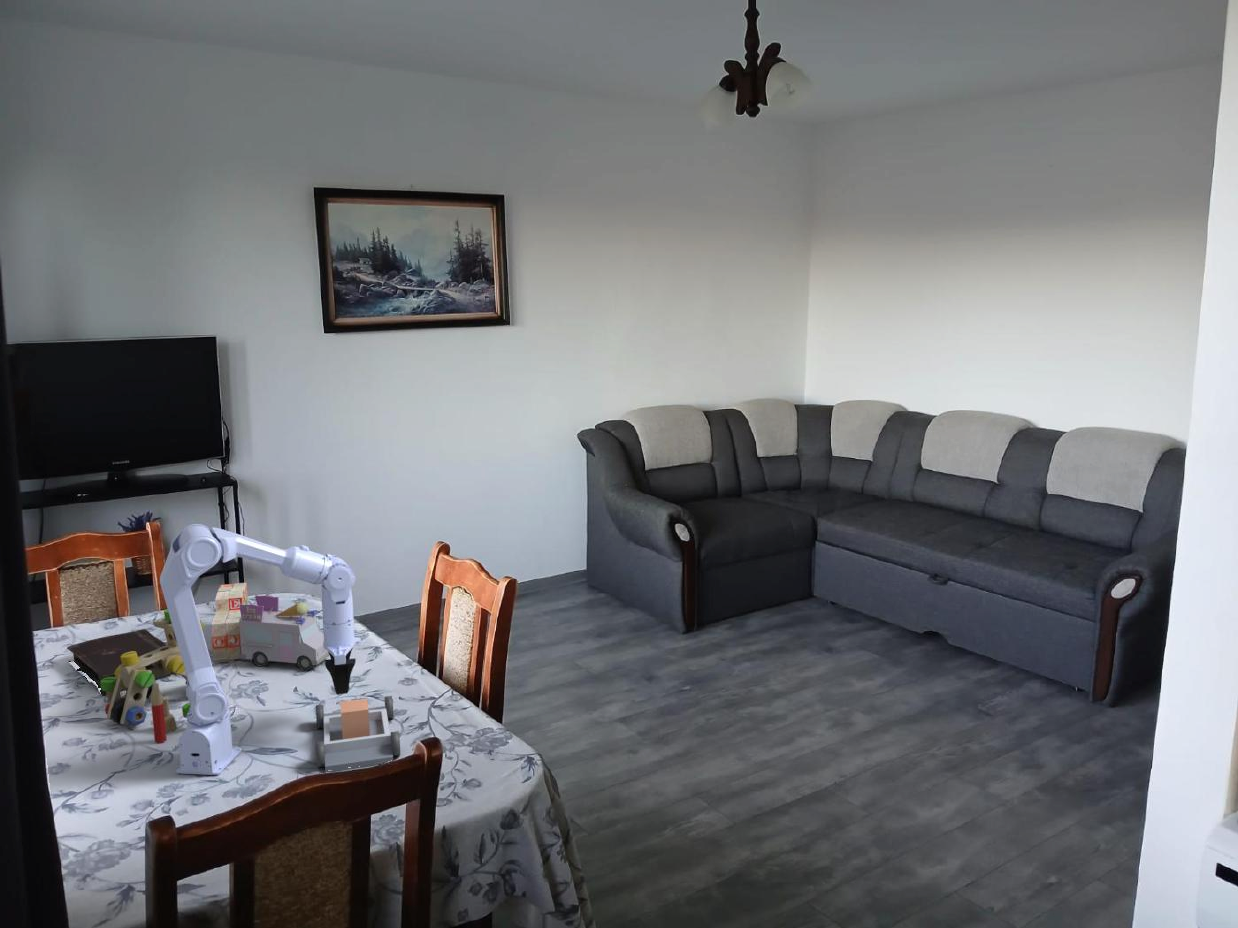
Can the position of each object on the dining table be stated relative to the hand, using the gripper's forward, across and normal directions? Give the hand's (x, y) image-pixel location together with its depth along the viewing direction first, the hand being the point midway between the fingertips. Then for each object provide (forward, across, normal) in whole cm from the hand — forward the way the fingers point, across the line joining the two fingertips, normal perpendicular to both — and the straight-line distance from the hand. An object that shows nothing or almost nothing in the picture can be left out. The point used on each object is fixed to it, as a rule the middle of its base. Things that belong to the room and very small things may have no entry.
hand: (341, 685), depth 185 cm
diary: (+10, +45, +47) cm, 66 cm away
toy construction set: (+10, +18, +35) cm, 40 cm away
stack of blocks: (+10, +54, +26) cm, 61 cm away
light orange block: (+8, -5, -2) cm, 10 cm away
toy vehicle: (+10, +38, +12) cm, 41 cm away
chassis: (+9, -5, -2) cm, 11 cm away
